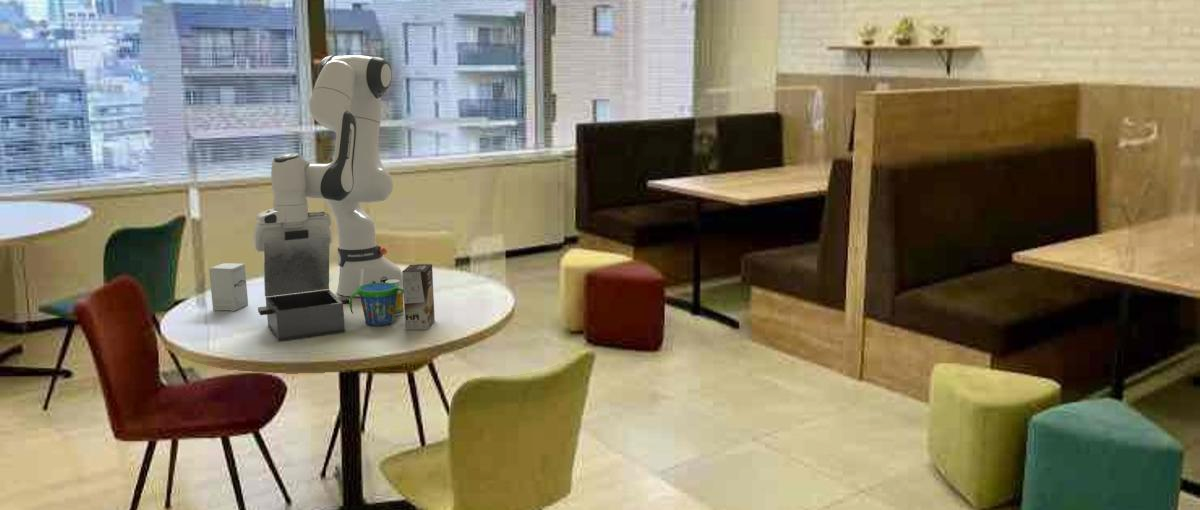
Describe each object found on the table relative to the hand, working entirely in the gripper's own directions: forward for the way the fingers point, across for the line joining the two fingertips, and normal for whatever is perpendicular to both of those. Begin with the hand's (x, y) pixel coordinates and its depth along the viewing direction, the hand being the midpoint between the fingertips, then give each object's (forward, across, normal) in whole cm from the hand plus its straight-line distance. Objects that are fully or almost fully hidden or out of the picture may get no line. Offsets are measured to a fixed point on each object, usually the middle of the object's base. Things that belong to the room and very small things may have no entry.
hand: (294, 264), depth 267 cm
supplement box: (+16, +15, -26) cm, 34 cm away
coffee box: (+16, -28, +20) cm, 38 cm away
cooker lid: (-1, 0, +3) cm, 3 cm away
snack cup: (+16, -19, +12) cm, 28 cm away
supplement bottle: (+16, -25, +5) cm, 31 cm away
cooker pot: (+16, 0, +8) cm, 18 cm away
